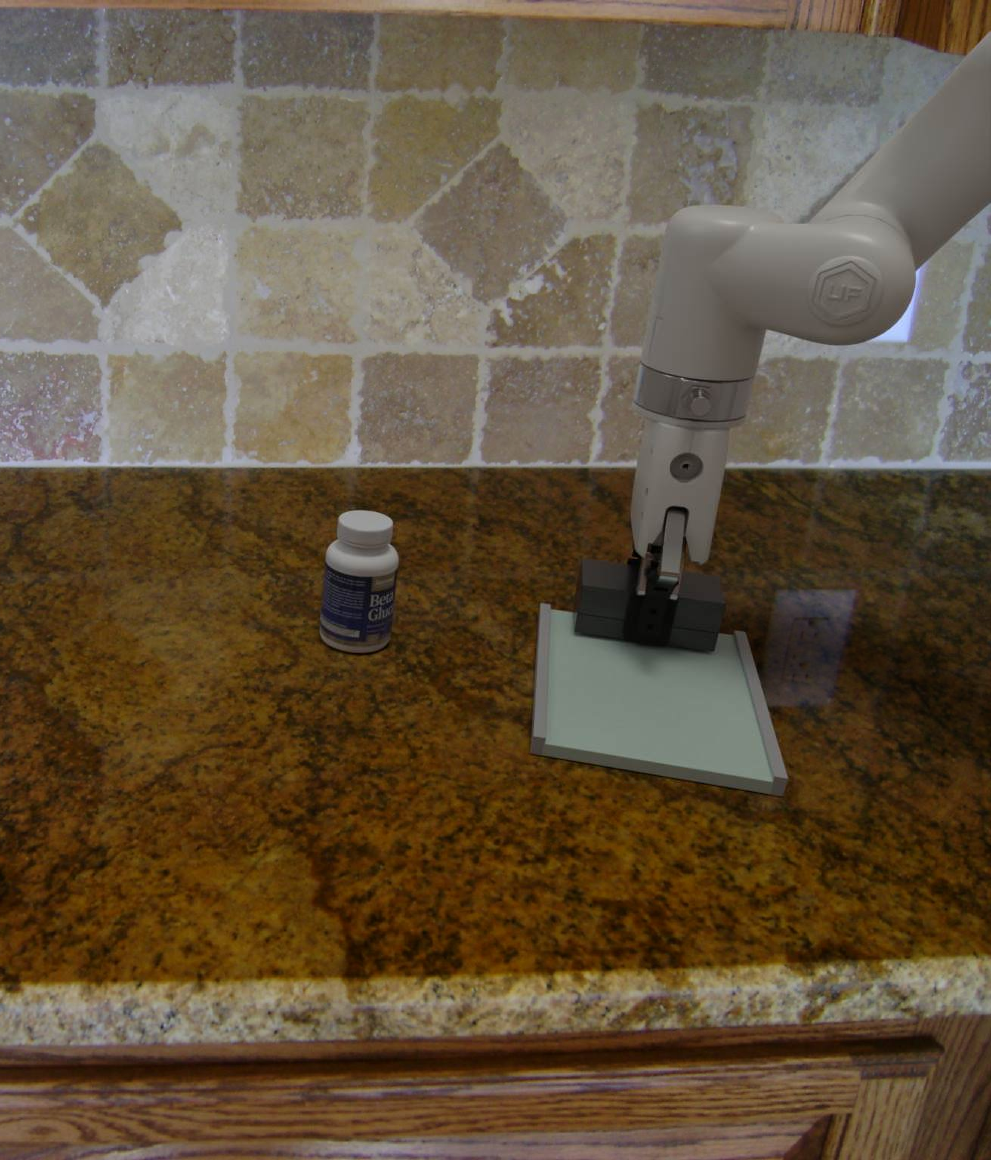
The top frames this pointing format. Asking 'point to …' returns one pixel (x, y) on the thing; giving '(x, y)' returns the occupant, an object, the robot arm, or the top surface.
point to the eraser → (609, 596)
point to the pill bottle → (359, 583)
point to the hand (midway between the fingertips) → (642, 622)
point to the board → (653, 707)
